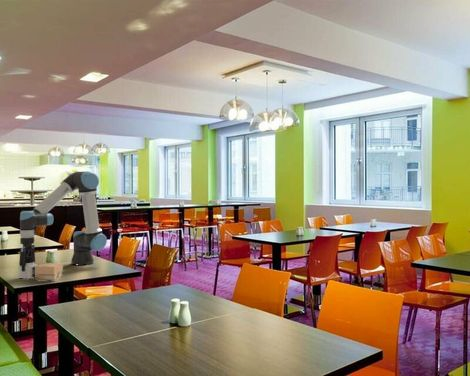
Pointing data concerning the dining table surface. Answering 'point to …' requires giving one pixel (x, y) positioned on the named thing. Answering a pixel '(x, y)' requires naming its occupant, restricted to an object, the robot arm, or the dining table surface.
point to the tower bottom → (48, 276)
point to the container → (29, 268)
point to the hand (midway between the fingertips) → (27, 275)
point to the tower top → (49, 268)
